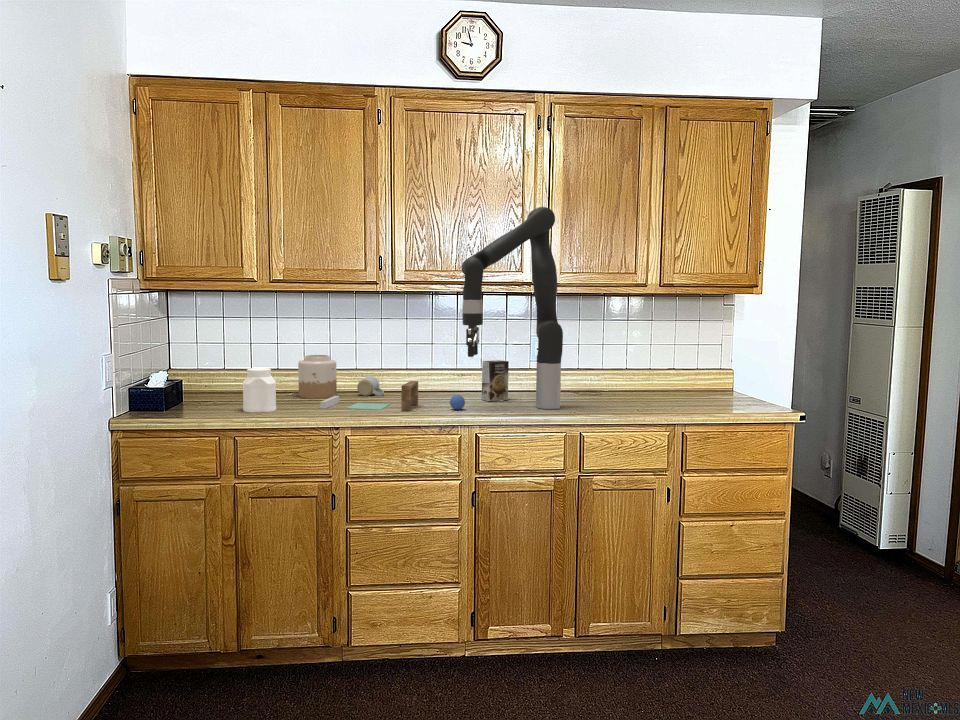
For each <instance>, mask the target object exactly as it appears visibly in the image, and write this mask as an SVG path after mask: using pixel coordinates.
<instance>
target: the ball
mask: <svg viewBox="0 0 960 720" xmlns="http://www.w3.org/2000/svg"><path fill="white" fill-rule="evenodd" d="M449 405H450V407H451V408H452V409H453V410H458V411H460V410H461V409H463V408H464V407H465V405H466V399H465V398H464V396H462V395H461V394H454V395H453V396H451V398H450V400H449Z"/></svg>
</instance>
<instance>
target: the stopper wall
mask: <svg viewBox="0 0 960 720" xmlns="http://www.w3.org/2000/svg"><path fill="white" fill-rule="evenodd" d="M340 398H341V397H340V395H336V396H333V397H331V398H325V399H322V401H320V403H319V404H320V405H319V406H320V409H321V410H322V409H328V408H330V407H333V406H335V405H337V404H339V403H341V402H340V401H341V399H340Z"/></svg>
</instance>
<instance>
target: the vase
mask: <svg viewBox="0 0 960 720" xmlns="http://www.w3.org/2000/svg"><path fill="white" fill-rule="evenodd" d="M297 365H298V367H297V368H298V374H297V375H298V379H297V380H298V397H300V398H301V399H310V400H312V399H313V400H316V399H317V400H319V399H322V400H325V399H328V398H331V397H333V396H338V395H337V392H338V390H337V385H338V384H337V383H338V382H337V361H336V360H333V359H331V357H330V355H327V354H308V355H305V356H304V360H299V361H298V363H297Z"/></svg>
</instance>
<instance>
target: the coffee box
mask: <svg viewBox="0 0 960 720" xmlns="http://www.w3.org/2000/svg"><path fill="white" fill-rule="evenodd" d="M509 363H510V362H509V360H496V359H495V360H482V367H481V368H482V369H481V401H484V400H486V401H485V402H487V401H497V402H500V401H499V400H509V367H510V366H509Z"/></svg>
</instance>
